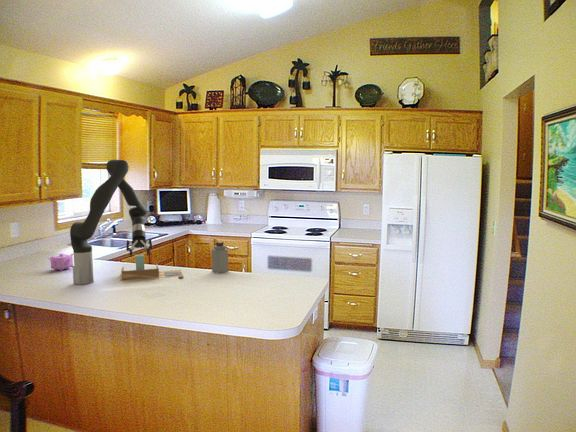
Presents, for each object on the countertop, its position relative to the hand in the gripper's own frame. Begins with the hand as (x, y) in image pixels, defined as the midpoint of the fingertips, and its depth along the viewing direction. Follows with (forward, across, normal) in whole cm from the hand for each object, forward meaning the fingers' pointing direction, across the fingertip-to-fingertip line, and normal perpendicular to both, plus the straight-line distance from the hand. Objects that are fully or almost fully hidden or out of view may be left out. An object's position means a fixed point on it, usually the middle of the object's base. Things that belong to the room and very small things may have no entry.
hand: (139, 255), depth 257 cm
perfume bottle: (+12, +46, +6) cm, 48 cm away
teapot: (-15, -45, +32) cm, 57 cm away
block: (+11, 0, +4) cm, 12 cm away
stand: (+12, +6, +5) cm, 14 cm away
